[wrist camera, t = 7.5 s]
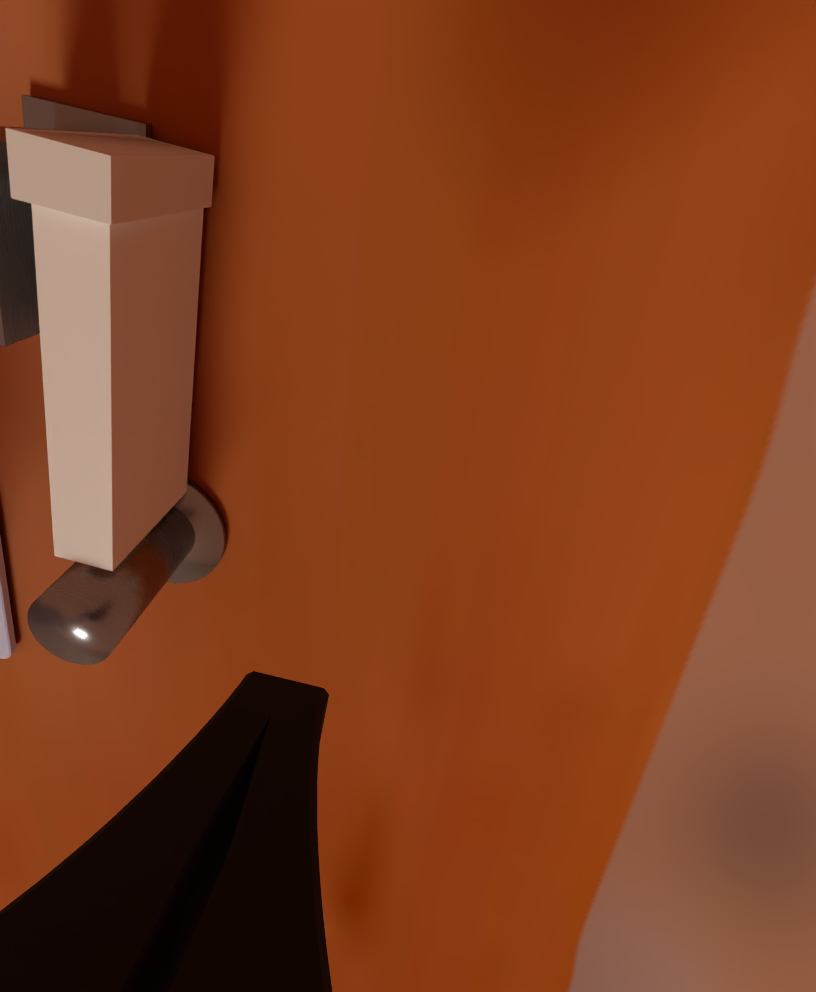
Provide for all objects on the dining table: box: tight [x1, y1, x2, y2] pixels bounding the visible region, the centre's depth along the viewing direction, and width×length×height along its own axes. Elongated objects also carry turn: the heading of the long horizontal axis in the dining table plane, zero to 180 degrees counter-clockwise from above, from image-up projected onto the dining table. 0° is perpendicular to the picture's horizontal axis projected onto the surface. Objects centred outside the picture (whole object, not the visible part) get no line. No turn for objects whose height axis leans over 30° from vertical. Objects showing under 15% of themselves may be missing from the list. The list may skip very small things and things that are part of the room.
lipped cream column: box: [5, 128, 215, 571], centre depth 16 cm, size 10×2×5 cm, turn 167°
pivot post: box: [28, 479, 227, 664], centre depth 19 cm, size 4×4×6 cm
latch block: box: [0, 95, 152, 346], centre depth 15 cm, size 3×5×5 cm, turn 168°
